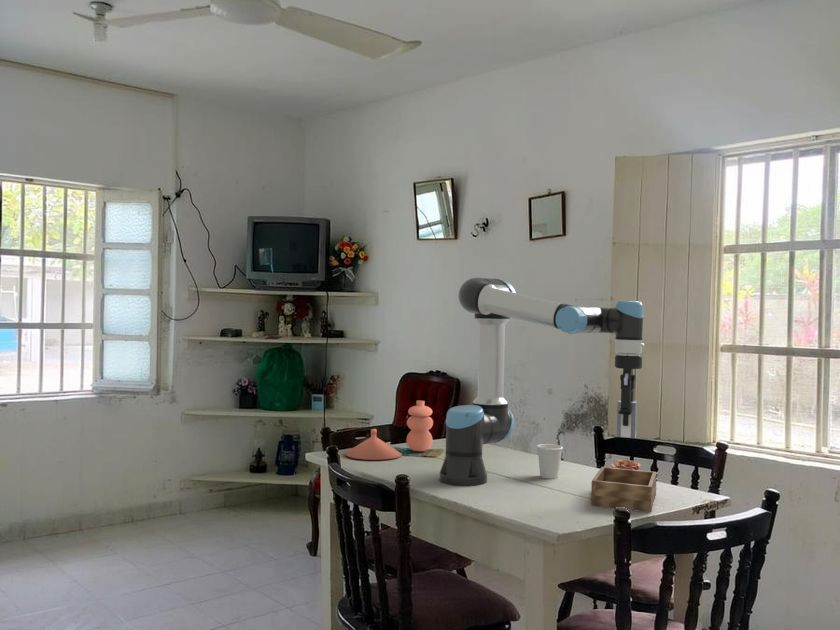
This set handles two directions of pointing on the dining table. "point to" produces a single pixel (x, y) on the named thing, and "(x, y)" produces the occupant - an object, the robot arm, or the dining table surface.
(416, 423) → the ceramic vessels
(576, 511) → the dining table surface
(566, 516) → the dining table surface
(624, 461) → the flower
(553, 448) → the dixie cup
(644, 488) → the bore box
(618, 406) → the peg
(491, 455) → the dining table surface
